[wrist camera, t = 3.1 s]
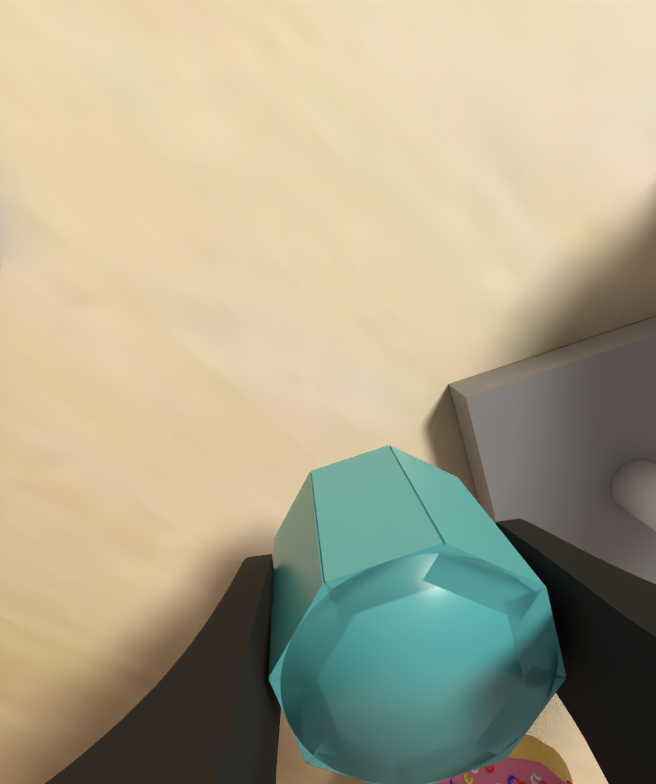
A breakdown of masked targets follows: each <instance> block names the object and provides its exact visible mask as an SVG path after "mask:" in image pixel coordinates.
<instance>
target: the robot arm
mask: <svg viewBox="0 0 656 784" xmlns="http://www.w3.org/2000/svg"><path fill="white" fill-rule="evenodd" d="M496 525H497V527H498V528H499V529H500V530H501V532H502V533H503V534H504V535H505V537H506V538H507V539H508V540H509V542H510V543H511V544H512V545H513V547H514V548H515V549H516V550H517V552H518V553H519V554H520V555H521V556H522V558H523V559H524V560H525V561H526V563H527V564H528V565H529V566H530V568H531V569H532V570H533V571H534V573H535V574H536V575H537V576H538V578H539V579H540V580H541V581H542V583H543V584H544V585H545V586H546V588H547V592H548V597H549V601H550V606H551V610H552V615H553V619H554V623H555V628H556V632H557V637H558V641H559V646H560V650H561V655H562V659H563V664H564V668H565V673H566V677H565V678H566V679H565V680H564V682H563V683H562V684H561V686H560V687H559V689H558V690H557V691H556V693H557V695H558V696H559V698H560V699H561V701H562V703H563V704H564V706H565V707H566V709H567V710H568V712H569V713H570V715H571V716H572V718H573V720H574V721H575V723H576V725H577V726H578V728H579V730H580V731H581V733H582V735H583V736H584V738H585V740H586V742H587V744H588V745H589V747H590V749H591V751H592V753H593V755H594V757H595V759H596V761H597V762H598V764H599V766H600V768H601V770H602V772H603V774H604V776H605V778H606V779H607V781H608V783H609V784H656V584H654V583H652V582H649V581H647V580H645V579H642V578H640V577H638V576H636V575H633V574H631V573H629V572H627V571H625V570H622V569H620V568H618V567H616V566H614V565H612V564H610V563H607V562H605V561H603V560H601V559H599V558H597V557H595V556H593V555H591V554H589V553H587V552H585V551H583V550H581V549H579V548H577V547H576V546H574V545H572V544H570V543H568V542H566V541H564V540H562V539H560V538H558V537H556V536H555V535H553V534H551V533H549V532H547V531H545V530H543V529H541V528H539V527H537V526H535V525H533V524H531V523H529V522H527V521H525V520H523V519H520V518H519V519H512V520H505V521H498V522H496ZM273 582H274V566H273V560H272V554H269V555H262V556H255V557H248V558H246V559H245V560H244V562H243V563H242V565H241V567H240V568H239V570H238V572H237V574H236V576H235V578H234V579H233V581H232V583H231V584H230V586H229V588H228V590H227V591H226V593H225V595H224V596H223V598H222V599H221V601H220V602H219V604H218V606H217V607H216V609H215V610H214V612H213V613H212V615H211V616H210V618H209V619H208V621H207V622H206V624H205V625H204V626H203V628H202V629H201V631H200V632H199V633H198V635H197V636H196V637H195V639H194V640H193V642H192V643H191V644H190V646H189V647H188V648H187V650H186V651H185V652H184V653H183V655H182V656H181V657H180V658H179V660H178V661H177V662H176V663H175V665H174V666H173V667H172V668H171V669H170V670H169V672H168V673H167V674H166V675H165V676H164V677H163V679H162V680H161V681H160V682H159V683H158V684H157V685H156V686H155V687H154V688H153V689H152V690H151V691H150V692H149V693H148V694H147V695H146V696H145V697H144V698H143V699H142V700H141V701H140V702H139V703H138V704H137V705H136V706H135V707H134V708H133V709H132V710H131V711H130V712H129V713H128V714H127V715H126V716H125V717H124V718H123V719H122V720H121V721H120V722H119V723H118V724H117V725H116V726H115V727H113V728H112V729H111V730H110V731H109V732H108V733H107V734H106V735H104V736H103V737H102V738H101V739H100V740H99V741H98V742H96V743H95V744H94V745H93V746H92V747H91V748H89V749H88V750H87V751H86V752H85V753H83V754H82V755H81V756H80V757H79V758H77V759H76V760H75V761H74V762H73V763H71V764H70V765H69V766H68V767H66V768H65V769H64V770H63V771H61V772H60V773H59V774H57V775H56V776H55V777H53V778H52V779H51V780H49V781H48V782H47V783H45V784H276V764H277V752H278V739H279V726H280V713H281V706H280V703H279V701H278V699H277V697H276V694H275V692H274V690H273V688H272V685H271V683H270V681H269V663H270V638H271V614H272V601H273Z"/></svg>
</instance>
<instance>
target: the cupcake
mask: <svg viewBox="0 0 656 784" xmlns="http://www.w3.org/2000/svg"><path fill="white" fill-rule="evenodd" d="M433 784H573V782H572V779H571V775H570V773H569V770H568V768H567V766H566V764H565V762H564V761H563V759H562V758H561V756H560V755H559V754H558V753H557V752H556V751H555V750H554V749H553V748H552V747H550V746H548V745H546V744H545V743H543V742H542V741H540V740H539V739H537V738H535V737H533V736H530V735H524V736H523V738H522V739H521V740H520V742H519V743H518V744H517V746H516V747H515V749H514V750H513V751H512V753H511V754H510V755H509V757H508V758H505V760H503V761H500V762H497V763H494V764H491V765H488V766H485V767H482V768H479V769H476V770H473V771H470V772H467V773H464V774H461V775H458V776H455V777H452V778H448V779H445V780H442V781H439V782H436V783H433Z"/></svg>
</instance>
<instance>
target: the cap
mask: <svg viewBox="0 0 656 784" xmlns="http://www.w3.org/2000/svg"><path fill="white" fill-rule="evenodd" d="M311 472H312V473H311ZM311 472H310V473H309V475H308V477H307V478H306V480H305V482H304V484H303V486H302V488H301V490H300V491H299V493H298V495H297V497H296V499H295V501H294V503H293V504H292V506H291V508H290V510H289V512H288V514H287V516H286V517H285V519H284V521H283V523H282V525H281V527H280V529H279V530H278V532H277V534H276V536H275V540H274V565H273V566H274V582H273V601H272V614H271V638H270V663H269V681H270V683H271V685H272V688H273V690H274V692H275V694H276V697H277V699H278V701H279V703H280V706H281V708H282V710H283V712H284V714H285V717H286V719H287V721H288V723H289V726H290V728H291V730H292V732H293V734H294V737H295V739H296V741H297V743H298V746H299V748H300V750H301V752H302V755H303V757H304V759H305V761H306V762H308V764H310V765H313V766H316V767H319V768H323V769H326V770H329V771H332V772H336V773H339V774H342V775H345V776H349V777H352V778H355V779H358V780H362V781H365V782H368V783H371V784H433V783H436V782H439V781H442V780H445V779H448V778H452V777H455V776H458V775H461V774H464V773H467V772H470V771H473V770H476V769H479V768H482V767H485V766H488V765H491V764H494V763H497V762H500V761H503V760H505V758H508V757H509V755H510V754H511V753H512V751H513V750H514V749H515V747H516V746H517V744H518V743H519V742H520V740H521V739H522V738H523V736H524V735H525V734H526V732H527V731H528V729H529V728H530V727H531V725H532V724H533V723H534V721H535V720H536V719H537V717H538V716H539V714H540V713H541V712H542V710H543V709H544V708H545V706H546V705H547V704H548V702H549V701H550V699H551V698H552V697H553V695H554V694H555V693H556V691H557V690H558V689H559V687H560V686H561V684H562V683H563V682H564V680H565V679H566V678H565V677H566V673H565V668H564V664H563V659H562V655H561V650H560V646H559V641H558V637H557V632H556V628H555V623H554V619H553V615H552V610H551V606H550V601H549V597H548V592H547V588H546V586H545V585H544V584H543V583H542V581H541V580H540V579H539V578H538V576H537V575H536V574H535V573H534V571H533V570H532V569H531V568H530V566H529V565H528V564H527V563H526V561H525V560H524V559H523V558H522V556H521V555H520V554H519V553H518V552H517V550H516V549H515V548H514V547H513V545H512V544H511V543H510V542H509V540H508V539H507V538H506V537H505V535H504V534H503V533H502V532H501V530H500V529H499V528H498V527H497V525H496V524H495V523H494V522H493V520H492V519H491V518H490V517H489V515H488V514H487V513H486V512H485V510H484V509H483V508H482V507H481V505H480V504H479V503H478V502H477V500H476V499H475V498H474V497H473V495H472V494H471V493H470V492H469V491H468V489H467V488H466V487H465V486H464V484H463V483H462V482H461V481H460V479H459V478H458V477H456V476H454V475H452V474H450V473H448V472H446V471H444V470H441V469H439V468H437V467H435V466H433V465H431V464H429V463H426V462H424V461H422V460H420V459H418V458H416V457H414V456H411V455H409V454H407V453H405V452H403V451H401V450H399V449H396V448H394V447H392V446H390V447H389V446H385V447H382V448H379V449H376V450H373V451H370V452H367V453H364V454H361V455H358V456H355V457H352V458H349V459H346V460H343V461H340V462H337V463H334V464H331V465H328V466H325V467H322V468H319V469H316V470H313V471H311Z"/></svg>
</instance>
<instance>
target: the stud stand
mask: <svg viewBox="0 0 656 784" xmlns="http://www.w3.org/2000/svg"><path fill="white" fill-rule="evenodd" d="M449 388H450V392H451V396H452V400H453V404H454V408H455V412H456V416H457V420H458V424H459V427H460V431H461V435H462V439H463V443H464V447H465V451H466V455H467V459H468V463H469V467H470V471H471V475H472V479H473V483H474V487H475V491H476V495H477V499H478V503H479V504H480V505H481V507H482V508H483V509H484V510H485V512H486V513H487V514H488V515H489V517H490V518H491V519H492V520H493V522H494V523H495V524H496V522H498V521H505V520H512V519H519V518H520V519H523V520H525V521H527V522H529V523H531V524H533V525H535V526H537V527H539V528H541V529H543V530H545V531H547V532H549V533H551V534H553V535H555V536H556V537H558V538H560V539H562V540H564V541H566V542H568V543H570V544H572V545H574V546H576V547H577V548H579V549H581V550H583V551H585V552H587V553H589V554H591V555H593V556H595V557H597V558H599V559H601V560H603V561H605V562H607V563H610V564H612V565H614V566H616V567H618V568H620V569H622V570H625V571H627V572H629V573H631V574H633V575H636V576H638V577H640V578H642V579H645V580H647V581H649V582H652V583H654V584H656V316H655V317H652V318H649V319H646V320H643V321H640V322H637V323H634V324H631V325H628V326H625V327H622V328H619V329H616V330H613V331H610V332H606V333H603V334H600V335H597V336H594V337H591V338H588V339H585V340H582V341H579V342H576V343H573V344H570V345H567V346H564V347H561V348H558V349H555V350H552V351H549V352H546V353H543V354H540V355H537V356H533V357H530V358H527V359H524V360H521V361H518V362H515V363H512V364H509V365H506V366H503V367H500V368H497V369H494V370H491V371H488V372H485V373H482V374H479V375H476V376H473V377H470V378H467V379H464V380H460V381H457V382H454V383H451V384H449Z"/></svg>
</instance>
